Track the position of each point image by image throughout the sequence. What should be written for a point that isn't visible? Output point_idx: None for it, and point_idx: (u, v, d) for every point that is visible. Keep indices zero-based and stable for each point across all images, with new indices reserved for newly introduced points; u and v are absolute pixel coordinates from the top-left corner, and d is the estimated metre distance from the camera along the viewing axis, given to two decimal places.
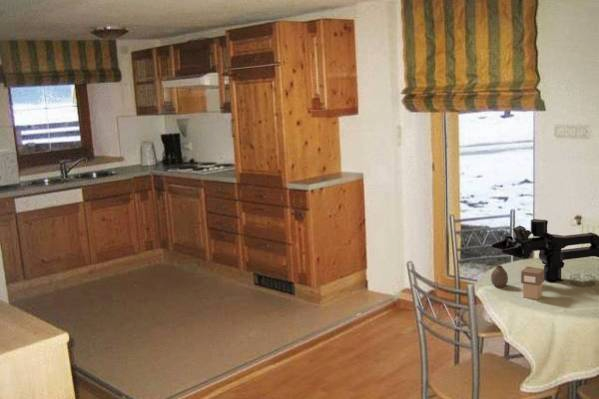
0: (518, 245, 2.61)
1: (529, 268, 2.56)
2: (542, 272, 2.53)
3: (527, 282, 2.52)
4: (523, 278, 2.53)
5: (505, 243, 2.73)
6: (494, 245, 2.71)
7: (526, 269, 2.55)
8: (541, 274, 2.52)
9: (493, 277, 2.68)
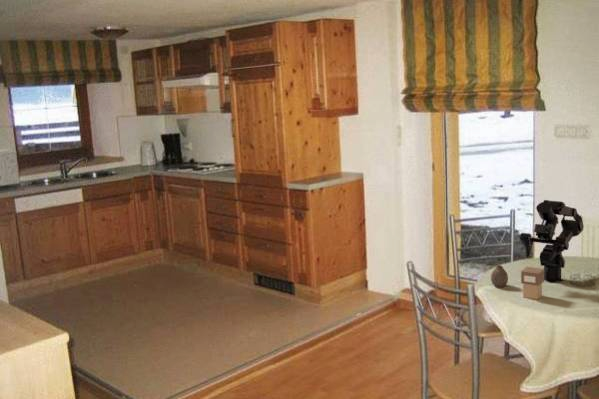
0: (557, 244, 2.56)
1: (529, 268, 2.56)
2: (542, 272, 2.53)
3: (527, 282, 2.52)
4: (523, 278, 2.53)
5: (530, 243, 2.65)
6: (528, 255, 2.62)
7: (526, 269, 2.55)
8: (541, 274, 2.52)
9: (493, 277, 2.68)
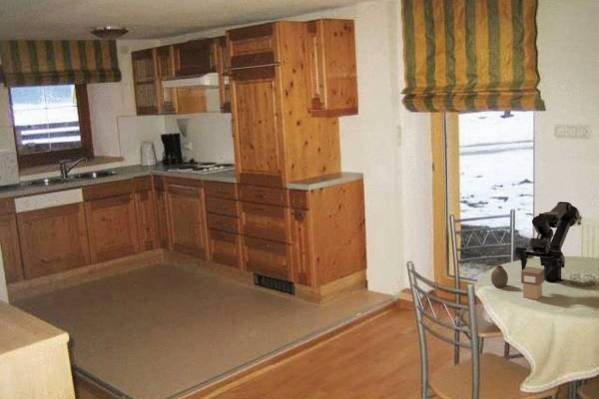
0: (553, 259, 2.52)
1: (529, 268, 2.56)
2: (542, 272, 2.53)
3: (527, 282, 2.52)
4: (523, 278, 2.53)
5: (525, 257, 2.61)
6: (523, 269, 2.58)
7: (526, 269, 2.55)
8: (541, 274, 2.52)
9: (493, 277, 2.68)
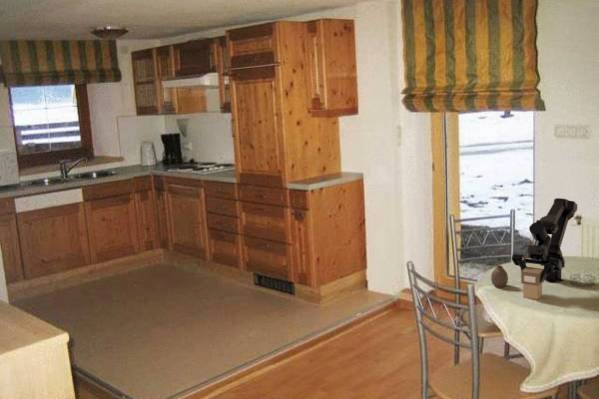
0: (548, 266, 2.51)
1: (529, 268, 2.56)
2: None
3: (527, 282, 2.52)
4: (523, 278, 2.53)
5: (525, 265, 2.58)
6: None
7: (526, 269, 2.55)
8: (541, 274, 2.52)
9: (493, 277, 2.68)
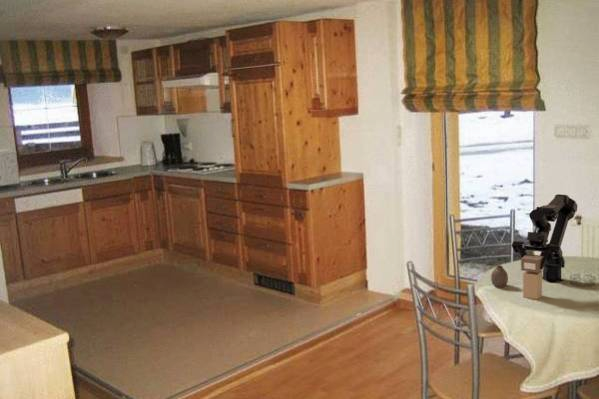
0: (548, 252, 2.50)
1: (529, 255, 2.55)
2: None
3: (527, 269, 2.51)
4: (523, 265, 2.52)
5: (525, 252, 2.57)
6: None
7: (526, 256, 2.54)
8: (541, 261, 2.51)
9: (493, 277, 2.68)
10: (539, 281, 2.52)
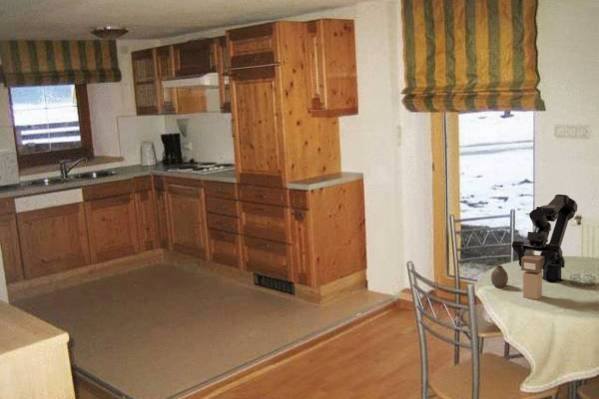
0: (550, 253, 2.49)
1: (529, 255, 2.55)
2: (542, 259, 2.52)
3: (527, 269, 2.51)
4: (523, 265, 2.52)
5: (522, 251, 2.58)
6: None
7: (526, 256, 2.54)
8: (541, 261, 2.51)
9: (493, 277, 2.68)
10: (539, 281, 2.52)
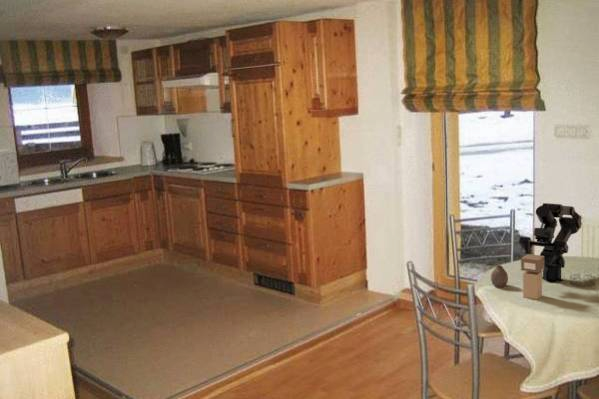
0: (557, 248, 2.55)
1: (529, 255, 2.55)
2: (542, 259, 2.52)
3: (527, 269, 2.51)
4: (523, 265, 2.52)
5: (529, 247, 2.64)
6: None
7: (526, 256, 2.54)
8: (541, 261, 2.51)
9: (493, 277, 2.68)
10: (539, 281, 2.52)
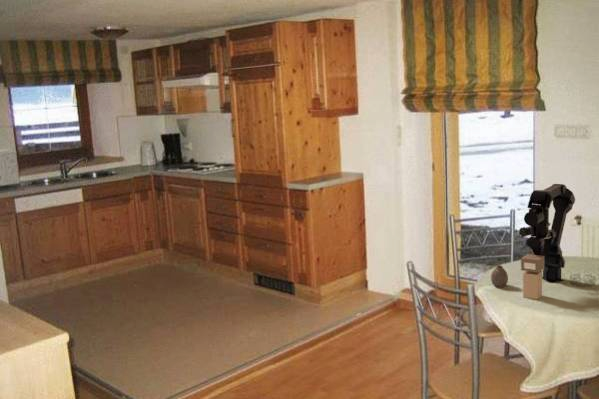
0: (529, 246, 2.57)
1: (529, 255, 2.55)
2: (542, 259, 2.52)
3: (527, 269, 2.51)
4: (523, 265, 2.52)
5: (544, 240, 2.65)
6: (544, 252, 2.65)
7: (526, 256, 2.54)
8: (541, 261, 2.51)
9: (493, 277, 2.68)
10: (539, 281, 2.52)
